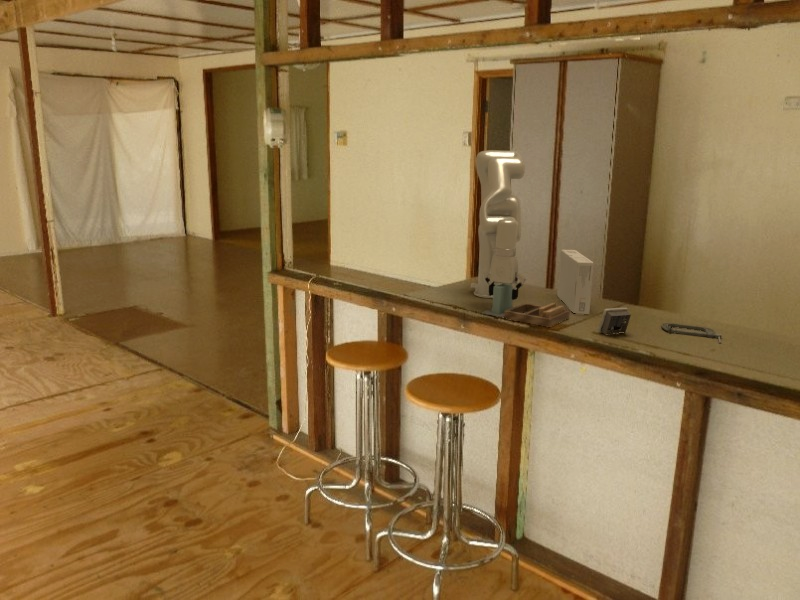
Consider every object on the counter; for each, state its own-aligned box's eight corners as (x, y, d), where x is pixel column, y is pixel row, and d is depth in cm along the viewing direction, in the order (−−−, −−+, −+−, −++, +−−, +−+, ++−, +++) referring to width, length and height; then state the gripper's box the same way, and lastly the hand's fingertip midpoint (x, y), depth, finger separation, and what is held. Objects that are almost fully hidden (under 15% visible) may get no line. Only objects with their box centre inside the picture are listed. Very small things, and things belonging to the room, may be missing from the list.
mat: (481, 314, 252) (481, 312, 252) (501, 306, 265) (501, 305, 265) (502, 318, 247) (502, 316, 247) (522, 310, 259) (522, 308, 259)
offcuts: (537, 323, 241) (538, 308, 240) (551, 317, 250) (552, 302, 249) (548, 325, 238) (550, 310, 237) (563, 319, 248) (564, 304, 246)
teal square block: (492, 312, 253) (493, 286, 250) (505, 307, 261) (506, 282, 258) (499, 313, 251) (500, 287, 249) (512, 308, 259) (513, 283, 256)
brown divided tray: (503, 318, 246) (504, 311, 246) (524, 310, 259) (525, 303, 258) (549, 327, 236) (550, 319, 235) (569, 318, 248) (569, 310, 248)
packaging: (589, 314, 255) (594, 262, 251) (573, 314, 255) (577, 262, 251) (571, 296, 285) (575, 249, 280) (557, 296, 285) (560, 249, 280)
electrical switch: (620, 330, 234) (624, 305, 231) (629, 336, 230) (633, 310, 227) (597, 332, 231) (601, 307, 228) (605, 338, 227) (609, 312, 224)
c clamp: (723, 332, 236) (724, 325, 235) (721, 345, 221) (722, 337, 220) (662, 324, 245) (663, 317, 244) (656, 336, 230) (657, 328, 229)
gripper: (480, 251, 253) (478, 295, 257) (521, 256, 242) (518, 302, 246) (490, 248, 258) (488, 292, 262) (531, 254, 248) (528, 299, 252)
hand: (502, 297), depth 254 cm, fingers open, 9 cm apart
